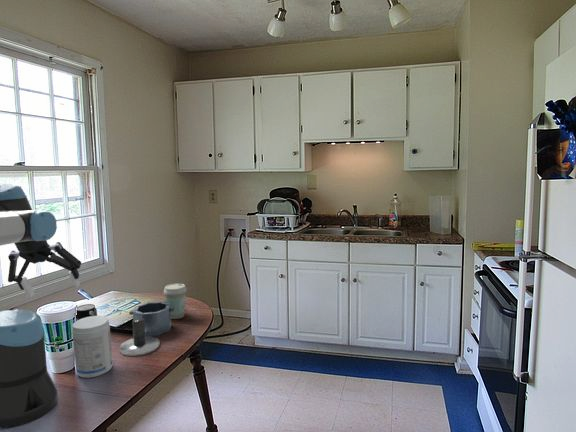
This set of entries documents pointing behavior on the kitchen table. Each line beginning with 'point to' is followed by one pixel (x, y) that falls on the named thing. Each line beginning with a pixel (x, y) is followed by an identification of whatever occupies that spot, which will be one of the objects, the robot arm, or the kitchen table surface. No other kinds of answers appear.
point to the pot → (154, 317)
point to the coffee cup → (176, 299)
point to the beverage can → (86, 311)
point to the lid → (139, 341)
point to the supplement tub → (92, 346)
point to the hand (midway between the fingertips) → (55, 291)
